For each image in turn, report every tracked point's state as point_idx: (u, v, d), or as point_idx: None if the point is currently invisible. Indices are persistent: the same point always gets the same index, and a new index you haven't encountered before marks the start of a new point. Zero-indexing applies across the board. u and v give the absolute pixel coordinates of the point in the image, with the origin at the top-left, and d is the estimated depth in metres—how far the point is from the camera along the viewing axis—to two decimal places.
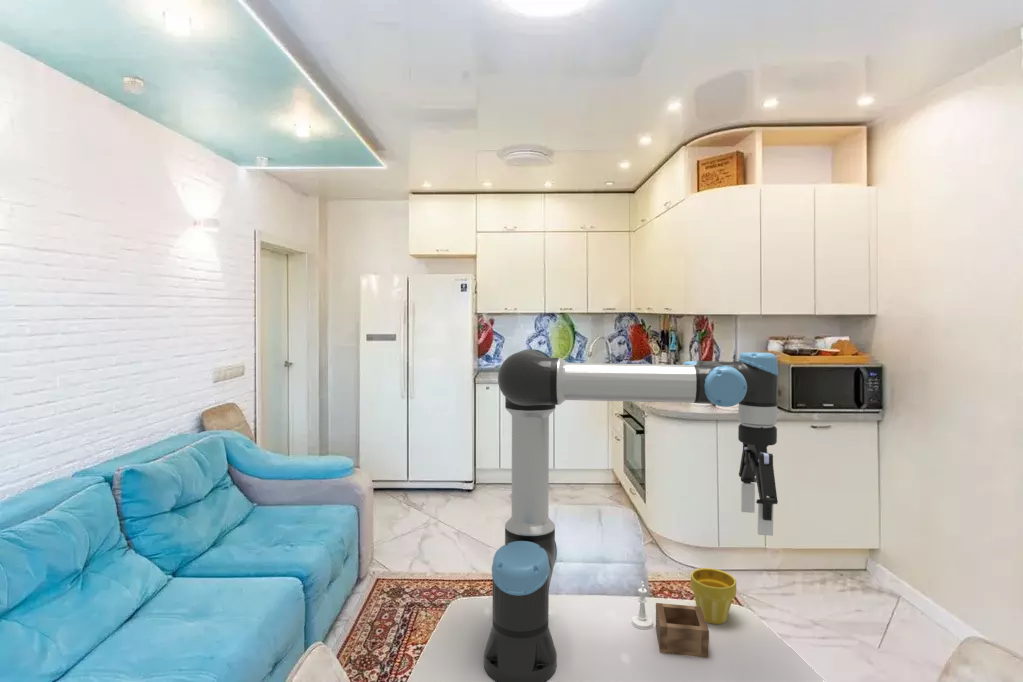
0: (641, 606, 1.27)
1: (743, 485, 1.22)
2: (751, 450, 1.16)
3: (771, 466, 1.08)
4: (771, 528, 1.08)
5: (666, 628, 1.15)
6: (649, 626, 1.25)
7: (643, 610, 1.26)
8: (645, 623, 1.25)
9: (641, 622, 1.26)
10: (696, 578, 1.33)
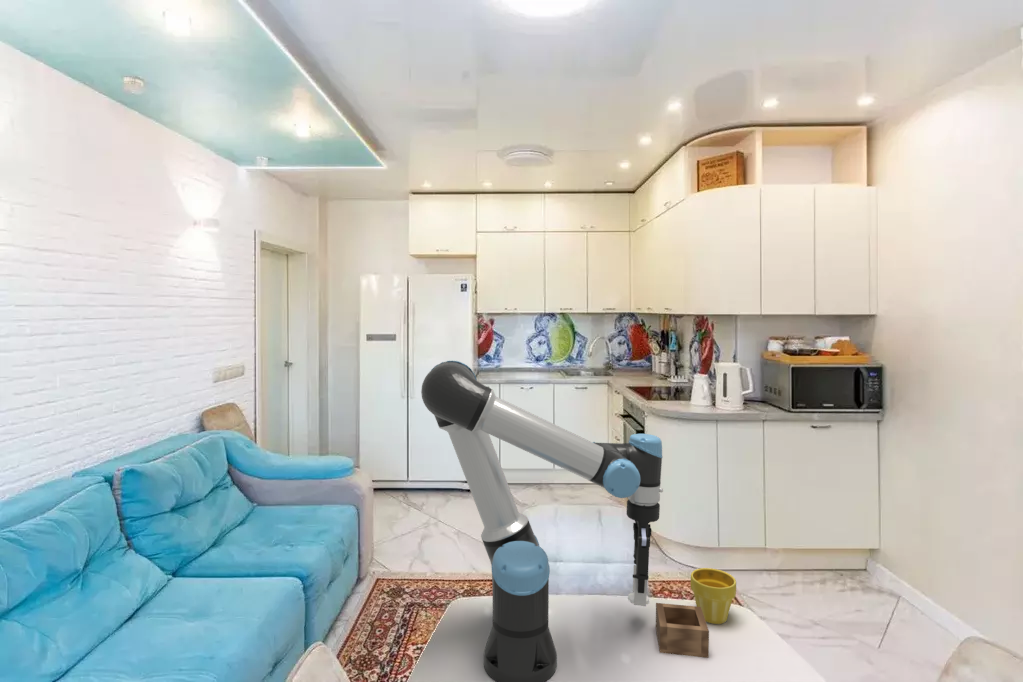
0: None
1: (634, 568, 1.29)
2: None
3: (647, 548, 1.20)
4: (645, 599, 1.24)
5: (666, 628, 1.15)
6: None
7: None
8: None
9: None
10: (696, 578, 1.33)
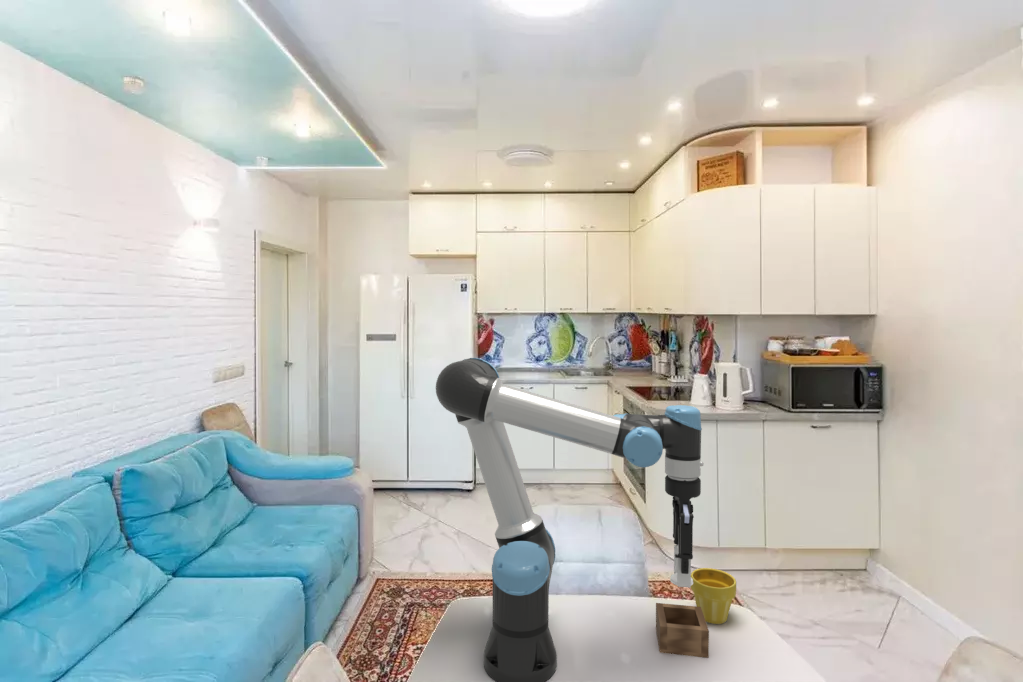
0: None
1: (675, 548, 1.22)
2: None
3: (691, 526, 1.13)
4: (689, 580, 1.16)
5: (666, 628, 1.15)
6: None
7: None
8: None
9: None
10: (696, 578, 1.33)
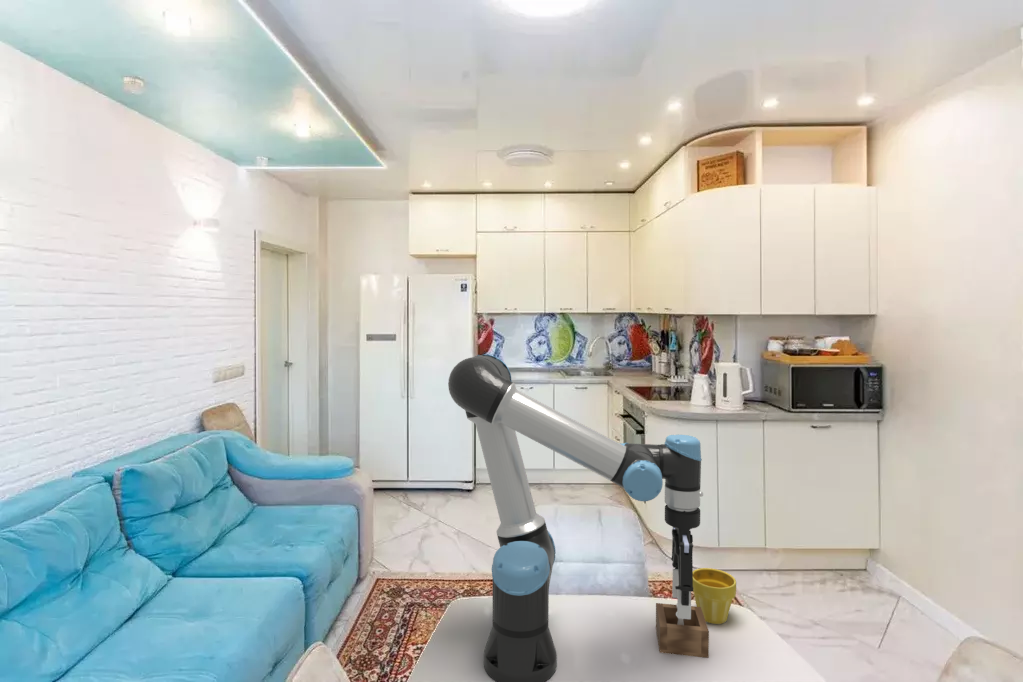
0: (679, 621, 1.18)
1: (674, 571, 1.24)
2: (676, 527, 1.20)
3: (690, 555, 1.13)
4: (689, 612, 1.15)
5: (666, 629, 1.15)
6: None
7: (682, 624, 1.18)
8: None
9: None
10: (696, 578, 1.33)
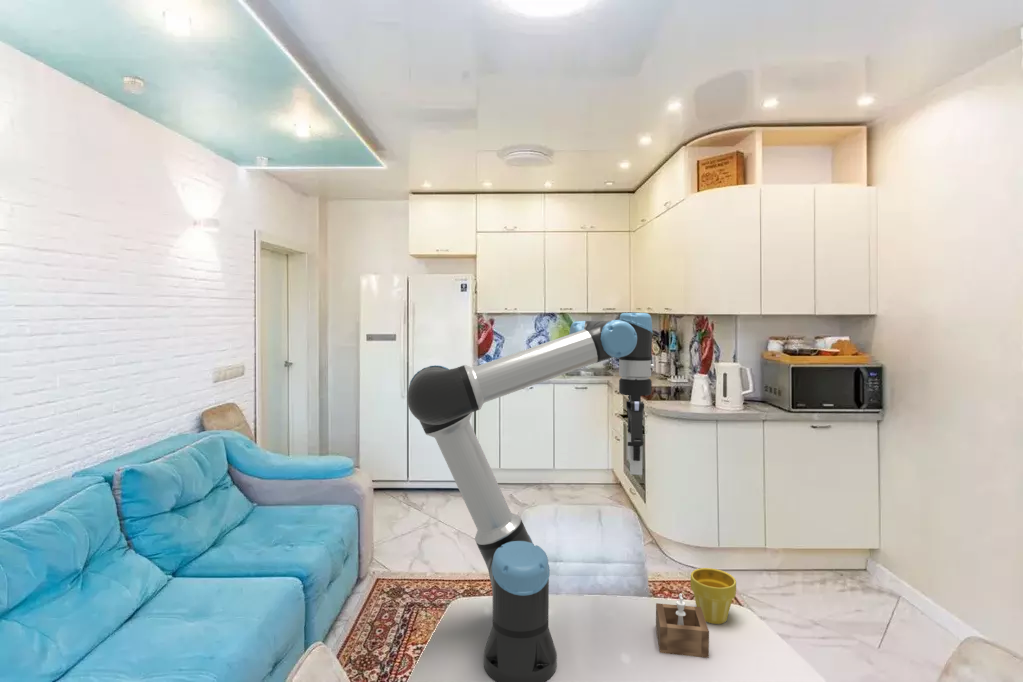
0: (679, 620, 1.19)
1: (628, 435, 1.35)
2: (630, 401, 1.28)
3: (640, 412, 1.21)
4: (641, 468, 1.21)
5: (666, 629, 1.15)
6: None
7: (682, 624, 1.19)
8: None
9: None
10: (696, 578, 1.33)
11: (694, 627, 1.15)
